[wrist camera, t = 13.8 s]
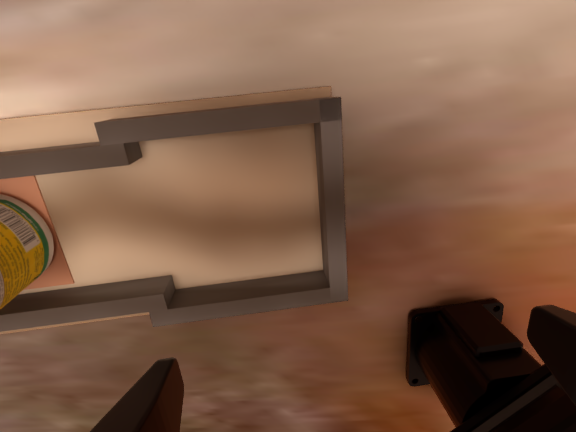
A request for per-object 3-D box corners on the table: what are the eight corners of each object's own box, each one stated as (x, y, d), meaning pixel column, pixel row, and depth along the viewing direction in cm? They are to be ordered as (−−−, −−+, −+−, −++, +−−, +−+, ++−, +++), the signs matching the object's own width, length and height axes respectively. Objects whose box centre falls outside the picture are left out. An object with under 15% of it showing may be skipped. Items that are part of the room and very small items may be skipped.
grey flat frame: (338, 283, 22) (348, 307, 19) (-15, 330, 21) (-51, 362, 18) (328, 86, 18) (340, 85, 15) (-117, 131, 16) (-181, 138, 14)
